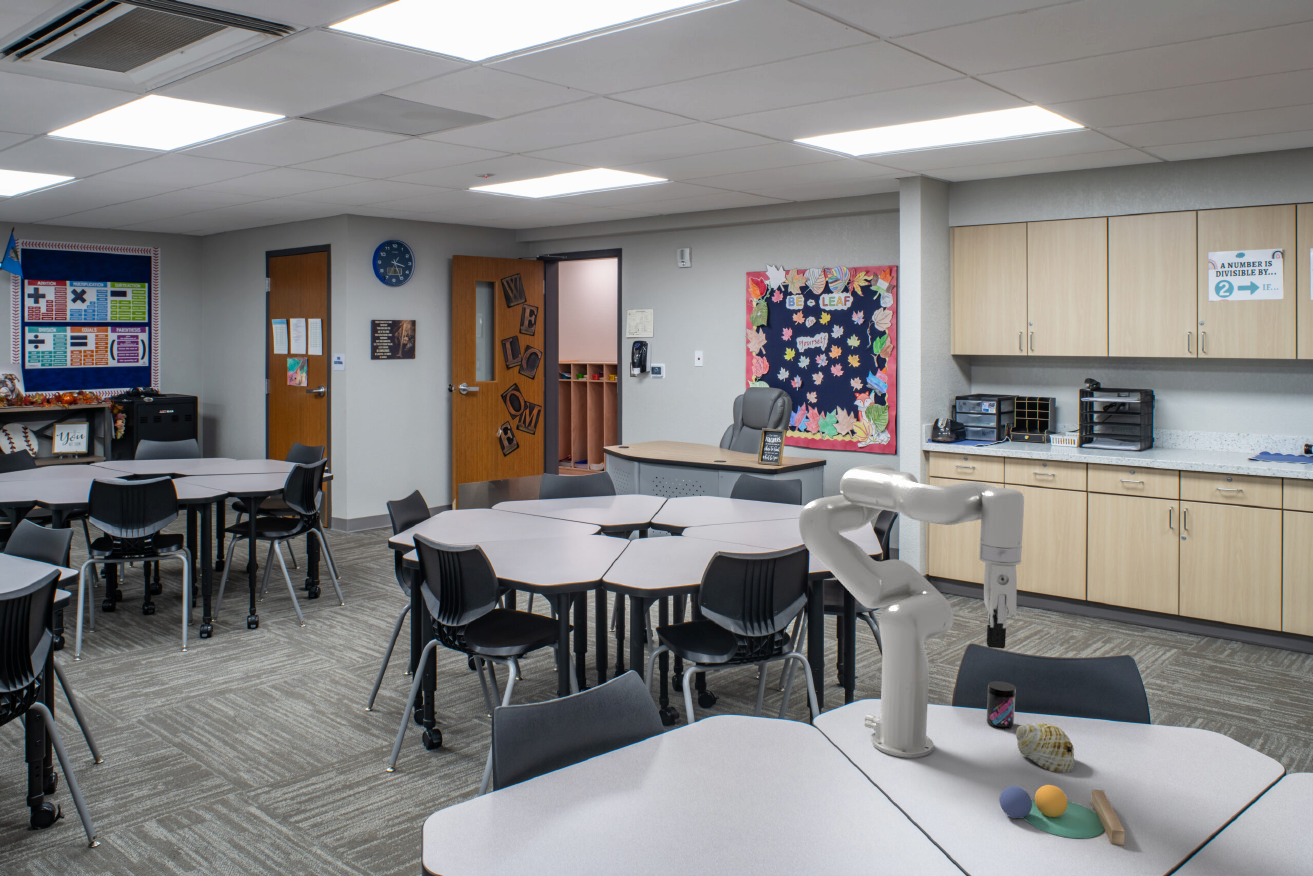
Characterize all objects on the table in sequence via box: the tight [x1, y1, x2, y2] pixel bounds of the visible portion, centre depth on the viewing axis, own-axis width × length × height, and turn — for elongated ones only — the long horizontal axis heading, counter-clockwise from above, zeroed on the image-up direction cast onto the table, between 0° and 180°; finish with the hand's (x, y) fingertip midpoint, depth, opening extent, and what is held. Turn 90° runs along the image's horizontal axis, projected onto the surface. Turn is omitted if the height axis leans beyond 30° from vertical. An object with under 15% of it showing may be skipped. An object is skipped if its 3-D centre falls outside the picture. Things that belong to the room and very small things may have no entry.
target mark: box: [1023, 798, 1105, 839], centre depth 171 cm, size 14×14×1 cm
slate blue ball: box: [999, 785, 1033, 819], centre depth 171 cm, size 6×6×6 cm
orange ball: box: [1034, 784, 1068, 817], centre depth 172 cm, size 6×6×6 cm
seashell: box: [1015, 722, 1076, 773], centre depth 194 cm, size 10×10×10 cm
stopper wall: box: [1090, 789, 1126, 846], centre depth 169 cm, size 2×15×2 cm, turn 168°
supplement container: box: [986, 680, 1017, 730], centre depth 212 cm, size 6×6×9 cm
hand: (995, 646), depth 182 cm, fingers closed
